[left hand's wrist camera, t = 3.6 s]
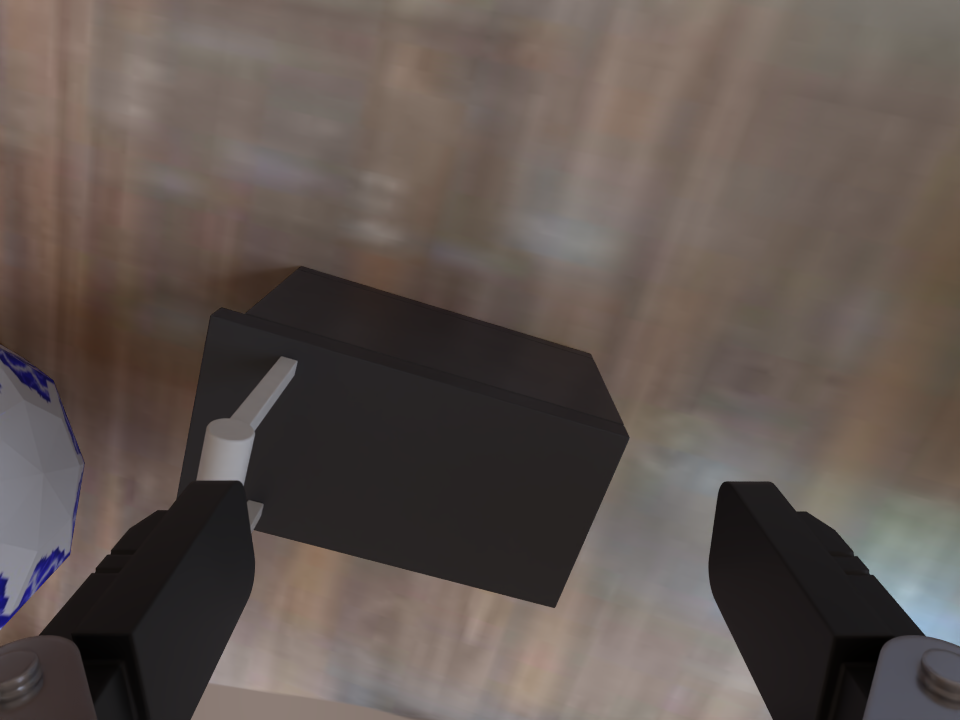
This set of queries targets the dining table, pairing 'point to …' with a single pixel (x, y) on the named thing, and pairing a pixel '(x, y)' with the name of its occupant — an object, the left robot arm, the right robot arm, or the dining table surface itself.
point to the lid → (397, 459)
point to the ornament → (33, 481)
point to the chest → (438, 340)
